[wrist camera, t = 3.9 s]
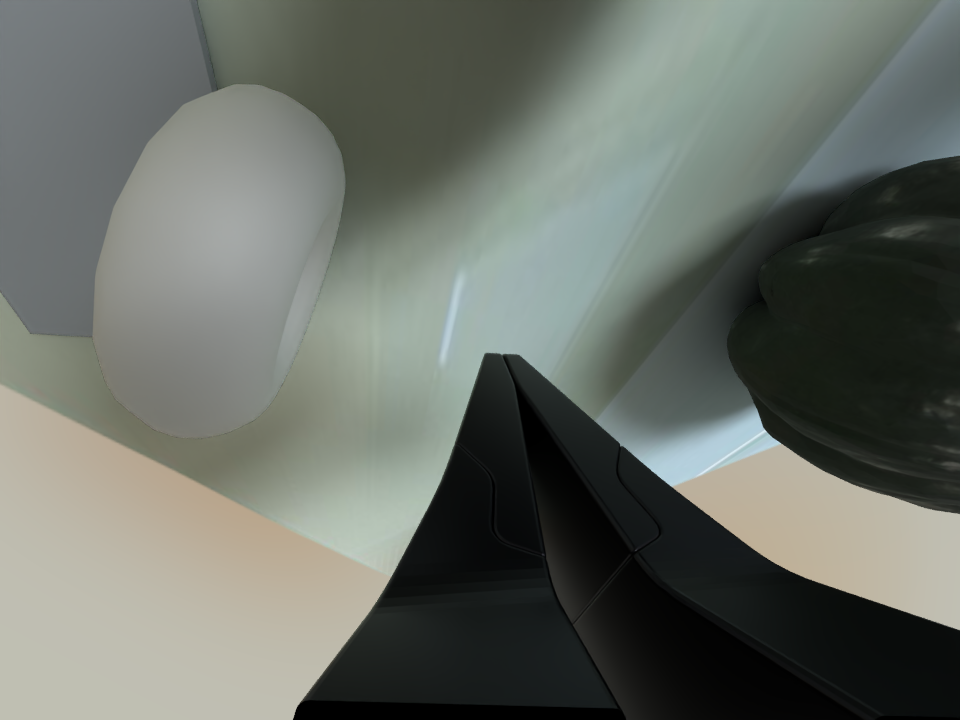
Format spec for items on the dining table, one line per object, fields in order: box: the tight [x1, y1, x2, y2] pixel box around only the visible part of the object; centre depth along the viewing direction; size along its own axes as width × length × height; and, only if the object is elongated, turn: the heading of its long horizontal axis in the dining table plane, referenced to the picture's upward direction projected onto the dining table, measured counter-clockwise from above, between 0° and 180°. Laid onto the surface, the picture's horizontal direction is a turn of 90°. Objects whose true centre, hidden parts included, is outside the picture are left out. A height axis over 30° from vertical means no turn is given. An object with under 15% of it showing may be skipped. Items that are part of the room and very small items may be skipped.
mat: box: [0, 0, 217, 337], centre depth 13 cm, size 10×14×1 cm
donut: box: [92, 84, 346, 439], centre depth 11 cm, size 10×4×10 cm, turn 153°
